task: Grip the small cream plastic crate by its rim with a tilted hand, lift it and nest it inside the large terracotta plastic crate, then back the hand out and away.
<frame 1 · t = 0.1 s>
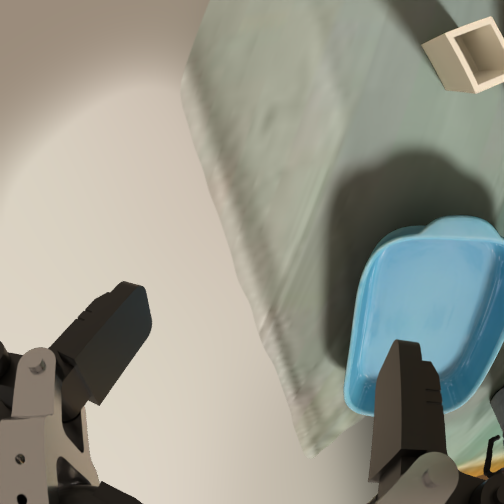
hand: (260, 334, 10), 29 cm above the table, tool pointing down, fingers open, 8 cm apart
small crate: (453, 59, 25), on the table
casserole dish: (424, 316, 41), on the table
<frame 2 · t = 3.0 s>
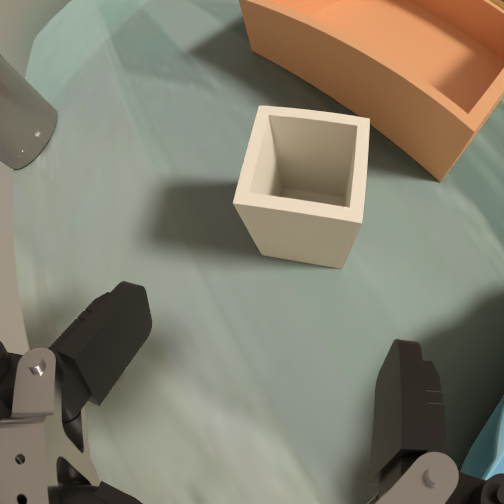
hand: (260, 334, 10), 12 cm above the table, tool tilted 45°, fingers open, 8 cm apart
small crate: (308, 223, 23), on the table
large crate: (401, 51, 26), on the table
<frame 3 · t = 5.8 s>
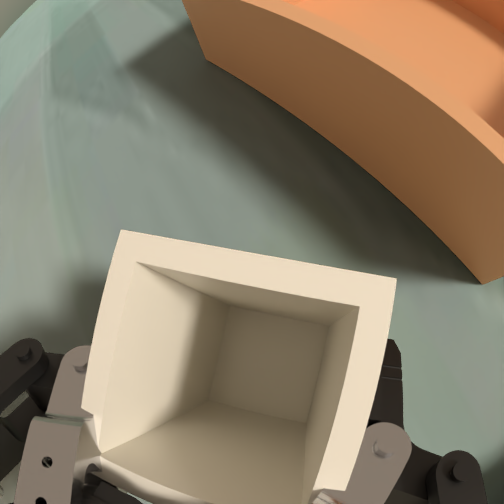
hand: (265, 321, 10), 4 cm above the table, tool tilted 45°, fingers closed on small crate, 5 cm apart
small crate: (269, 364, 14), on the table, touching gripper
large crate: (426, 58, 17), on the table
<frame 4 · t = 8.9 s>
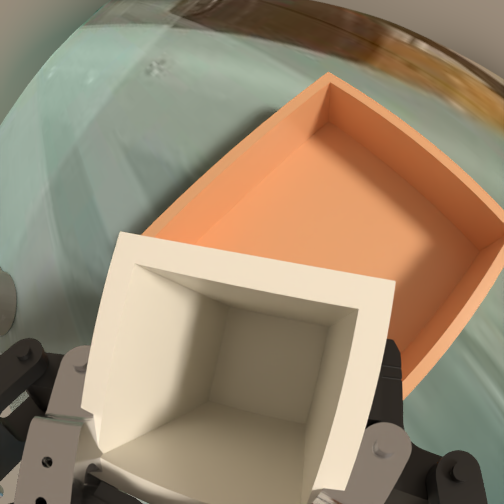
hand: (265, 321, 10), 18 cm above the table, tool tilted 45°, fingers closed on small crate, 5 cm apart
small crate: (269, 365, 14), point 14 cm above the table, touching gripper
large crate: (338, 256, 28), on the table
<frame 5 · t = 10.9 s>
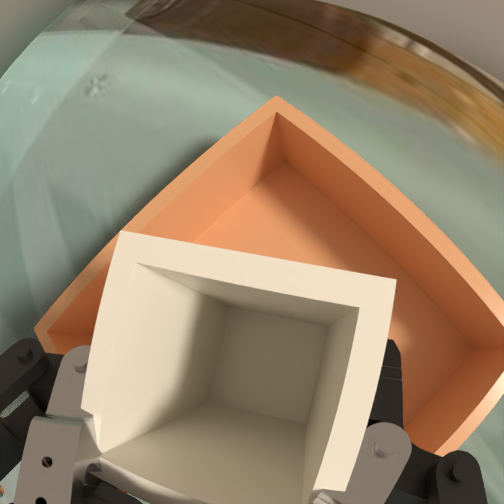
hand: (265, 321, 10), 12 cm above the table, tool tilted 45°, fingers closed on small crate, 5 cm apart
small crate: (269, 364, 14), point 8 cm above the table, touching gripper
large crate: (280, 353, 22), on the table
when the fingers open (7 cm above the table, at t = 12.4 s): small crate drops 1 cm, resting on large crate.
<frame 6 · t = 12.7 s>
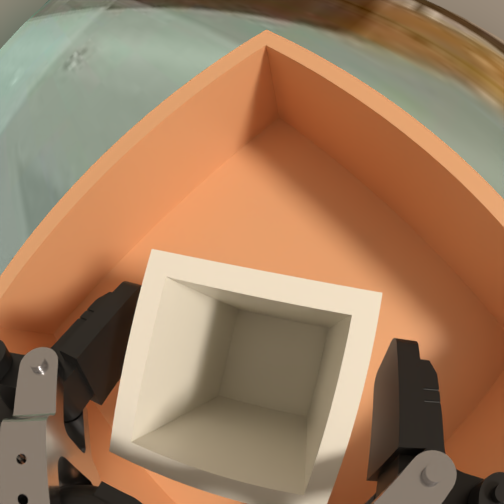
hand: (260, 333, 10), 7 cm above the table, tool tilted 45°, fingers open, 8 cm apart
small crate: (273, 362, 15), point 1 cm above the table, touching large crate
large crate: (274, 360, 16), on the table
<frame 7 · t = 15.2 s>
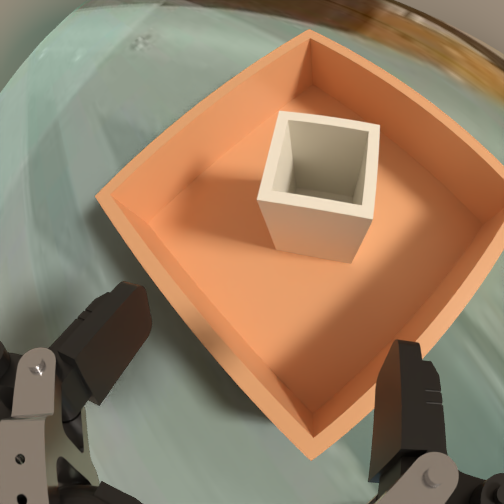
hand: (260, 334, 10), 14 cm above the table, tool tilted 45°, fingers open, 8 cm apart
small crate: (320, 221, 24), point 1 cm above the table, touching large crate
large crate: (318, 225, 25), on the table
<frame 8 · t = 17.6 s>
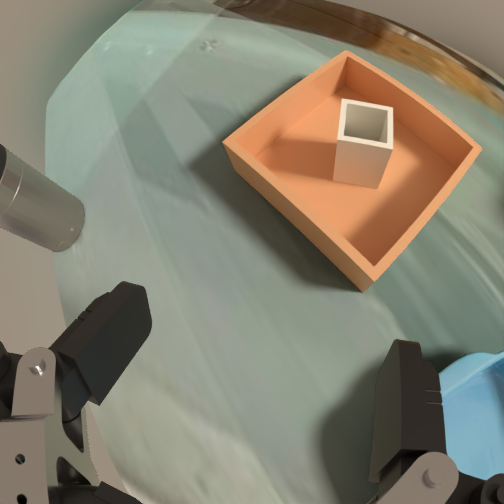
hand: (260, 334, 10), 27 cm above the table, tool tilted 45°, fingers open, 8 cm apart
small crate: (357, 165, 38), point 1 cm above the table, touching large crate
casserole dish: (467, 475, 26), on the table
large crate: (355, 169, 39), on the table
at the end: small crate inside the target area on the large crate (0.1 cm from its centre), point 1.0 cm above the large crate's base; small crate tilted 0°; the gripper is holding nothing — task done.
